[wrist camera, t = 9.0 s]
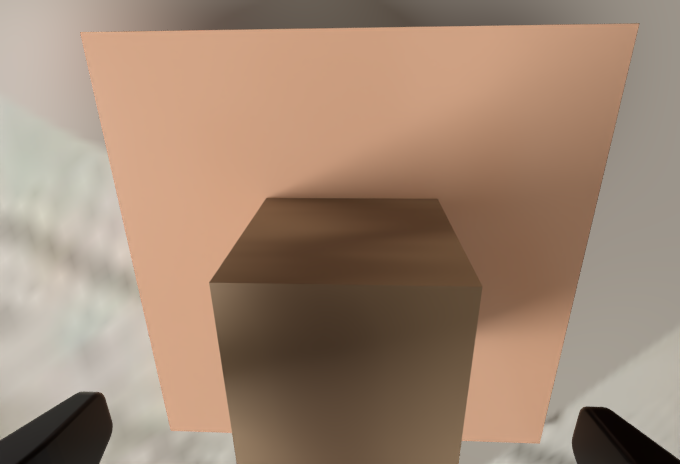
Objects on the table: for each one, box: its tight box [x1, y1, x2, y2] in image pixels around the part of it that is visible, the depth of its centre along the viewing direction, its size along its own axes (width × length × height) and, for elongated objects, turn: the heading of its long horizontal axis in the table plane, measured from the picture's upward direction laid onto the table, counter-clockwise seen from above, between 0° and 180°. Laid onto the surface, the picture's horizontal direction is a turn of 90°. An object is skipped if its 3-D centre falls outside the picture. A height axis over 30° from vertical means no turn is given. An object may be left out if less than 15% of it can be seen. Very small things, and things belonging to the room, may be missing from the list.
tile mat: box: [80, 23, 639, 443], centre depth 14 cm, size 14×14×1 cm
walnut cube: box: [209, 198, 482, 464], centre depth 11 cm, size 5×5×5 cm
